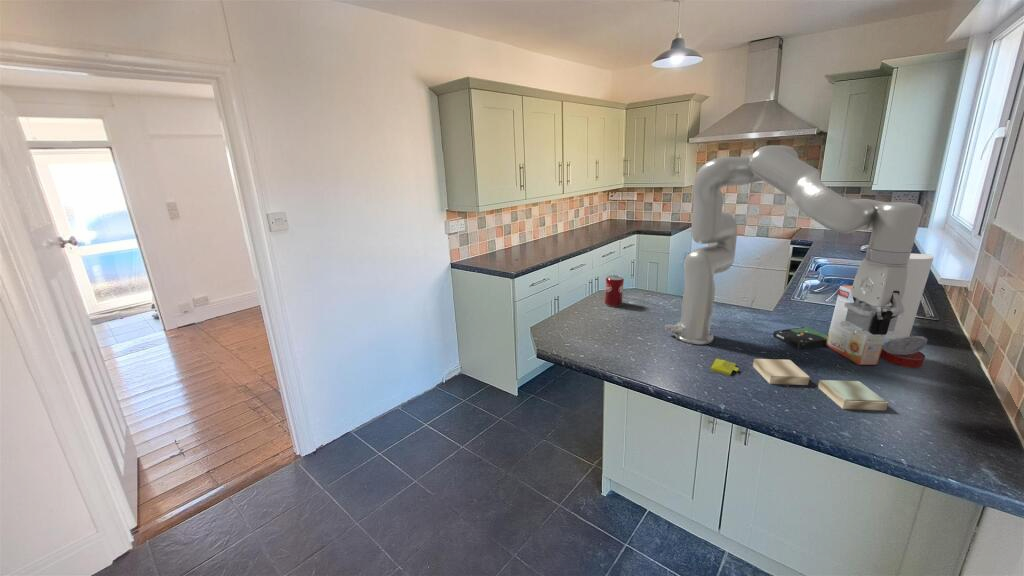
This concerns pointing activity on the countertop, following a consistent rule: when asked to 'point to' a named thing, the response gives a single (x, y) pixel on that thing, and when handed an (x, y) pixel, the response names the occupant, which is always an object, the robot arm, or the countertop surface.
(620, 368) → the countertop surface
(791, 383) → the stand
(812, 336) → the disk drive
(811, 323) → the countertop surface
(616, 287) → the soda can
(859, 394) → the stand
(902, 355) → the canned food
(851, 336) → the cracker box
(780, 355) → the countertop surface
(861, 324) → the housing
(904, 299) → the cylinder
